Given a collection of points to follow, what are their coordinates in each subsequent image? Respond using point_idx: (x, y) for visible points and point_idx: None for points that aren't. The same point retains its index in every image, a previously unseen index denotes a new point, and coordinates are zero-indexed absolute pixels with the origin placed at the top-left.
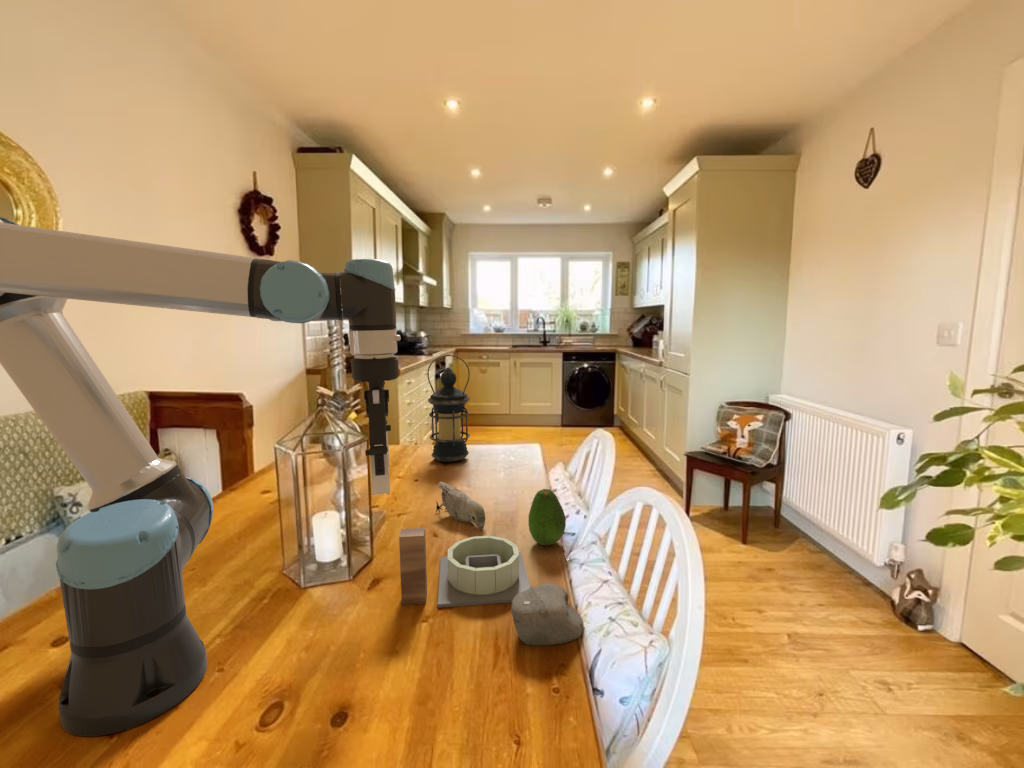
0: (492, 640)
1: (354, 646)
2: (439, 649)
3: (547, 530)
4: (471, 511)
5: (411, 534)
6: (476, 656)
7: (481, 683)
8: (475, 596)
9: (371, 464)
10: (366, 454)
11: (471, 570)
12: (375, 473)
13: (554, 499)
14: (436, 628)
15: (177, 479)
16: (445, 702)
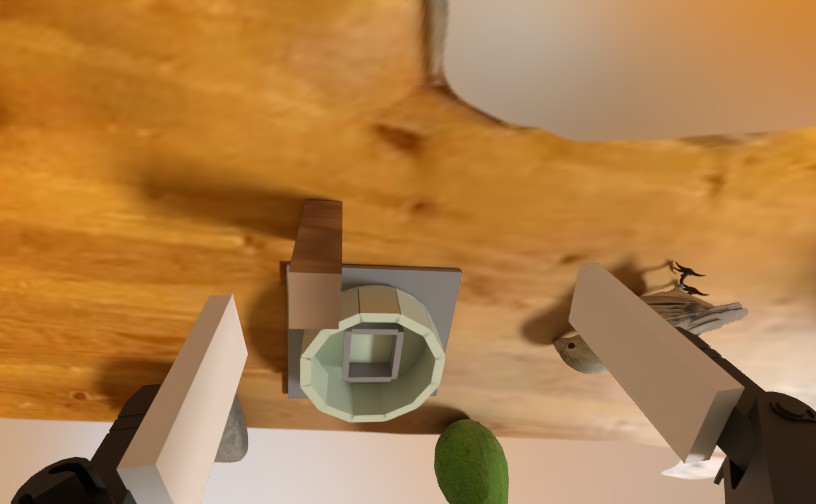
0: (187, 336)
1: (170, 115)
2: (163, 263)
3: (436, 462)
4: (584, 351)
5: (300, 301)
6: (146, 314)
7: (83, 317)
8: None
9: (152, 412)
10: (34, 481)
11: (304, 351)
12: (130, 398)
13: None
14: (223, 259)
15: None
16: (33, 270)
